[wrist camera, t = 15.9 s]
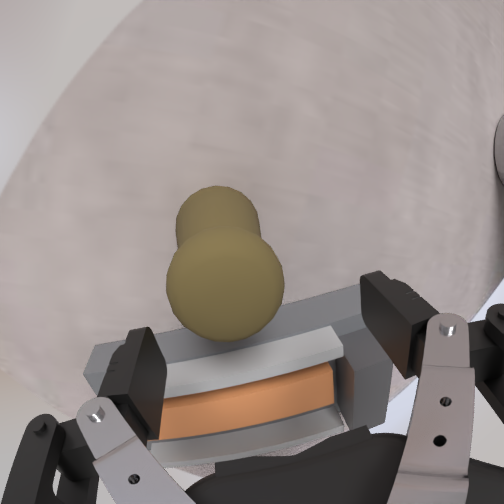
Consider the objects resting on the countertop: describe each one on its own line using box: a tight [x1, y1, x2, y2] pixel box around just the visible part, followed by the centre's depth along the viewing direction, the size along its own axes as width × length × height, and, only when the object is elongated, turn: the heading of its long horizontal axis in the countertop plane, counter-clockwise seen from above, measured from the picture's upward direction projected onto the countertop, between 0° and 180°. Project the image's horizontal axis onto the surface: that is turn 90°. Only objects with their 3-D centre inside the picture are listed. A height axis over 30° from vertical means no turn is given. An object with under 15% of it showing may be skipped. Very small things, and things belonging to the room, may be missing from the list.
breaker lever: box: [147, 361, 334, 441], centre depth 23 cm, size 17×4×1 cm, turn 102°
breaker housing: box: [83, 284, 393, 468], centre depth 23 cm, size 24×11×8 cm, turn 102°
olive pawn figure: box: [166, 186, 284, 342], centre depth 17 cm, size 6×6×11 cm
